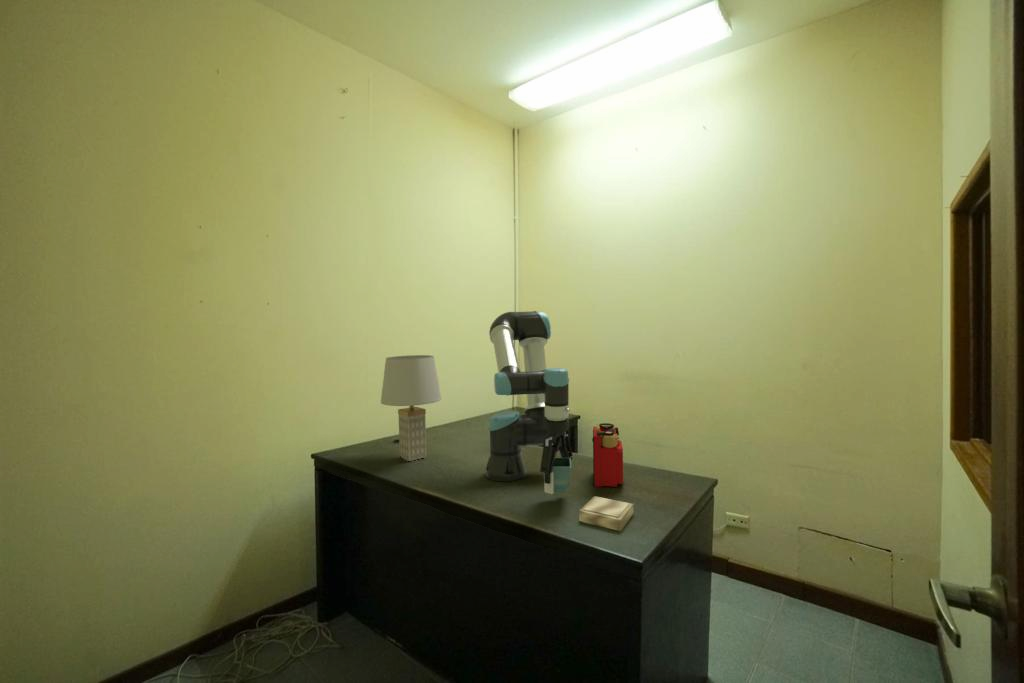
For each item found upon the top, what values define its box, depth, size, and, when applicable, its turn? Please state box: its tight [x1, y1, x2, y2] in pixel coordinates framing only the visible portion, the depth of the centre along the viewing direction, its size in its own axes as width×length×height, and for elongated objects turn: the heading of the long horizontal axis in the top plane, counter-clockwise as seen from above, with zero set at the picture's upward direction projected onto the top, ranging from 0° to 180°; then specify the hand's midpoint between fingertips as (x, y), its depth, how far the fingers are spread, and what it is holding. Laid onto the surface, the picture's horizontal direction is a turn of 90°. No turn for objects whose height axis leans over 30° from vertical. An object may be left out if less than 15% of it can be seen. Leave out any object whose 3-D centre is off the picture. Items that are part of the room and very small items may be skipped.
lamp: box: [380, 354, 442, 460], centre depth 183 cm, size 25×25×44 cm
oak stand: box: [578, 495, 635, 532], centre depth 124 cm, size 12×12×3 cm
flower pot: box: [552, 457, 572, 493], centre depth 136 cm, size 9×9×9 cm
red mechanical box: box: [591, 422, 624, 488], centre depth 153 cm, size 16×10×20 cm, turn 168°
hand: (557, 486), depth 136 cm, fingers closed on flower pot, 11 cm apart
